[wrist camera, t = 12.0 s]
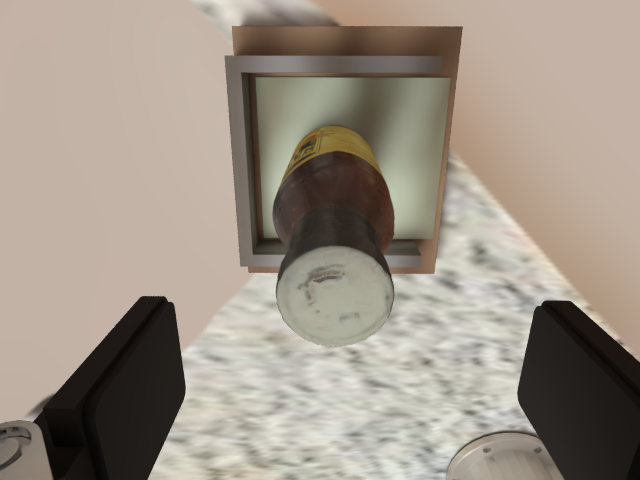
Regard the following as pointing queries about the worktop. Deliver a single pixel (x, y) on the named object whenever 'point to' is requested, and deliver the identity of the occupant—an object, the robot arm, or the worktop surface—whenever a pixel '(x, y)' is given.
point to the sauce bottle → (334, 239)
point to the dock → (343, 122)
